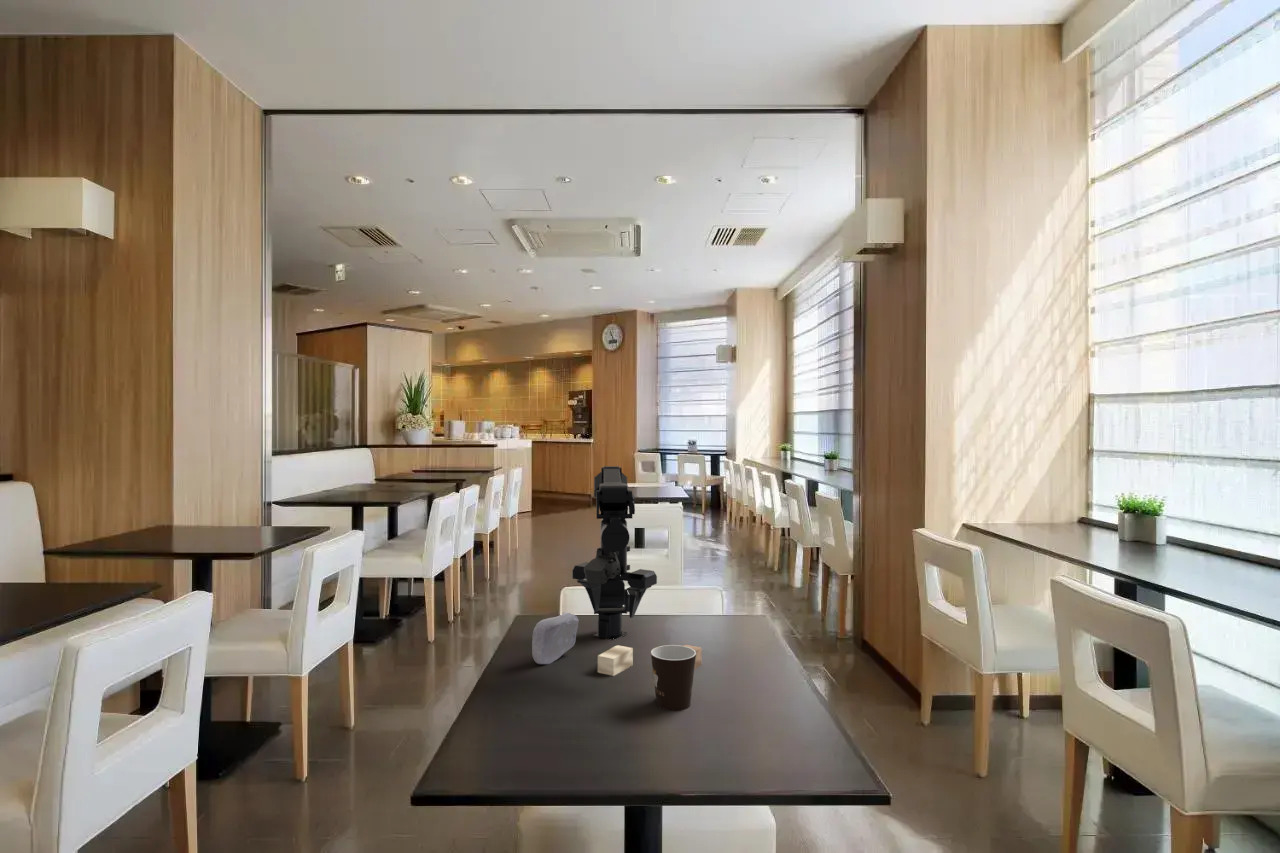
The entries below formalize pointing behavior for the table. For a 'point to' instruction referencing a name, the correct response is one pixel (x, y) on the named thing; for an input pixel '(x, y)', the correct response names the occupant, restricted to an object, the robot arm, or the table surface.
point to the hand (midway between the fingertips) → (613, 614)
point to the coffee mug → (673, 676)
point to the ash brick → (615, 660)
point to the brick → (697, 655)
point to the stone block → (554, 637)
